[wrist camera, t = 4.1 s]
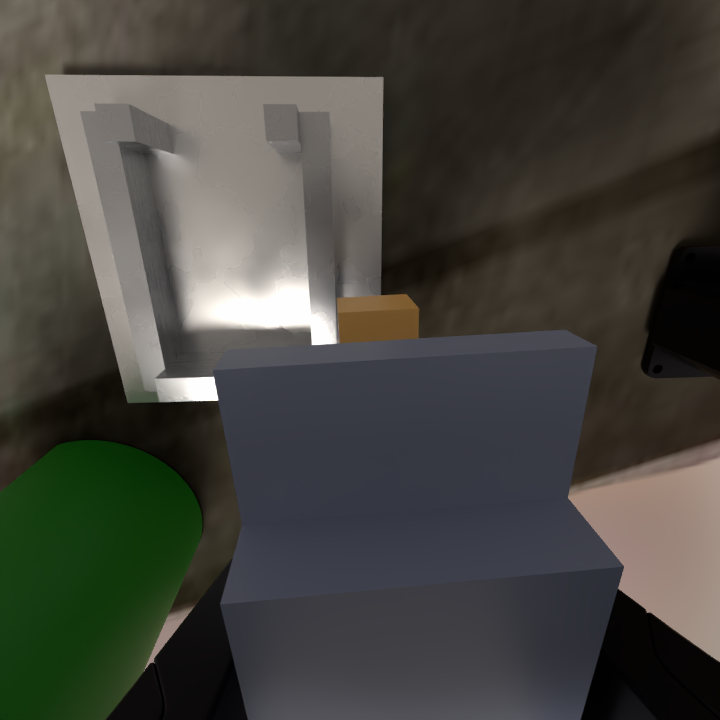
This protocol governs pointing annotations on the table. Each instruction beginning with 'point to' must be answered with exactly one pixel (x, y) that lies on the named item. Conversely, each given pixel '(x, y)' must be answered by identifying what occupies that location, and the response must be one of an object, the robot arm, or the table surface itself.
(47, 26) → the table surface
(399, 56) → the table surface
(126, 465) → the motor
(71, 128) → the chassis
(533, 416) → the block
